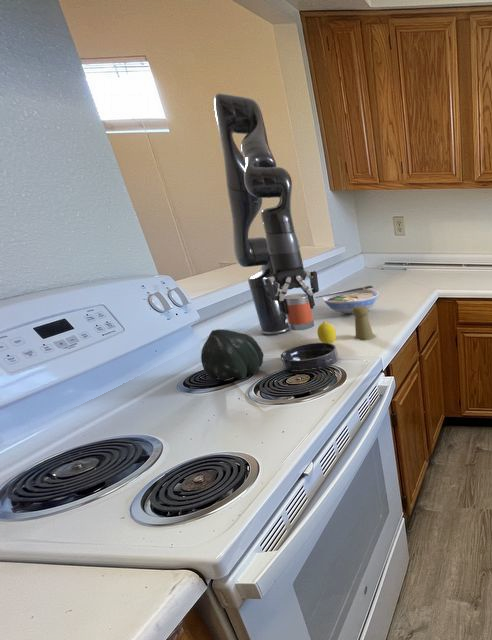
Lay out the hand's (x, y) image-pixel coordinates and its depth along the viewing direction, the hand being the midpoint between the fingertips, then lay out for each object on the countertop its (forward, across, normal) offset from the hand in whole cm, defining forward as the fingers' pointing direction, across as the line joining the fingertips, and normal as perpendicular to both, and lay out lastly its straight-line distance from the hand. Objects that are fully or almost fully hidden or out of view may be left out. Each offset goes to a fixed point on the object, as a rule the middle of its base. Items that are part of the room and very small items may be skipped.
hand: (298, 310), depth 118 cm
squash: (+16, +18, -7) cm, 25 cm away
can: (+5, 0, 0) cm, 5 cm away
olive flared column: (+16, -23, -9) cm, 30 cm away
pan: (+16, 0, +1) cm, 16 cm away
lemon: (+16, -11, -11) cm, 23 cm away
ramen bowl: (+17, -37, -43) cm, 59 cm away
